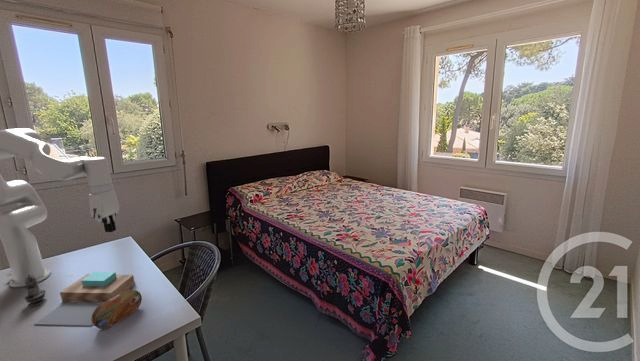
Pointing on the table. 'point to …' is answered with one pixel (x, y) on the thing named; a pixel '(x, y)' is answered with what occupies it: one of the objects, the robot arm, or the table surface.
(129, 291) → the tin
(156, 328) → the table surface
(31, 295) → the grey chess piece
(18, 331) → the table surface
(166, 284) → the table surface
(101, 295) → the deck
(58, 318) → the mat
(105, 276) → the turquoise foam pad
